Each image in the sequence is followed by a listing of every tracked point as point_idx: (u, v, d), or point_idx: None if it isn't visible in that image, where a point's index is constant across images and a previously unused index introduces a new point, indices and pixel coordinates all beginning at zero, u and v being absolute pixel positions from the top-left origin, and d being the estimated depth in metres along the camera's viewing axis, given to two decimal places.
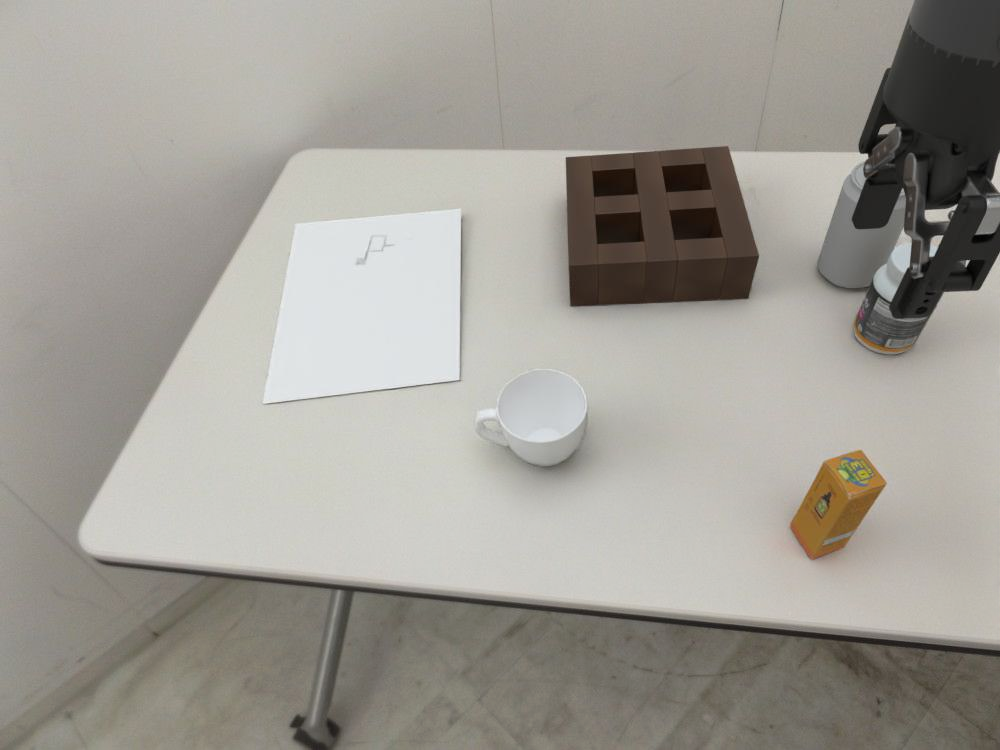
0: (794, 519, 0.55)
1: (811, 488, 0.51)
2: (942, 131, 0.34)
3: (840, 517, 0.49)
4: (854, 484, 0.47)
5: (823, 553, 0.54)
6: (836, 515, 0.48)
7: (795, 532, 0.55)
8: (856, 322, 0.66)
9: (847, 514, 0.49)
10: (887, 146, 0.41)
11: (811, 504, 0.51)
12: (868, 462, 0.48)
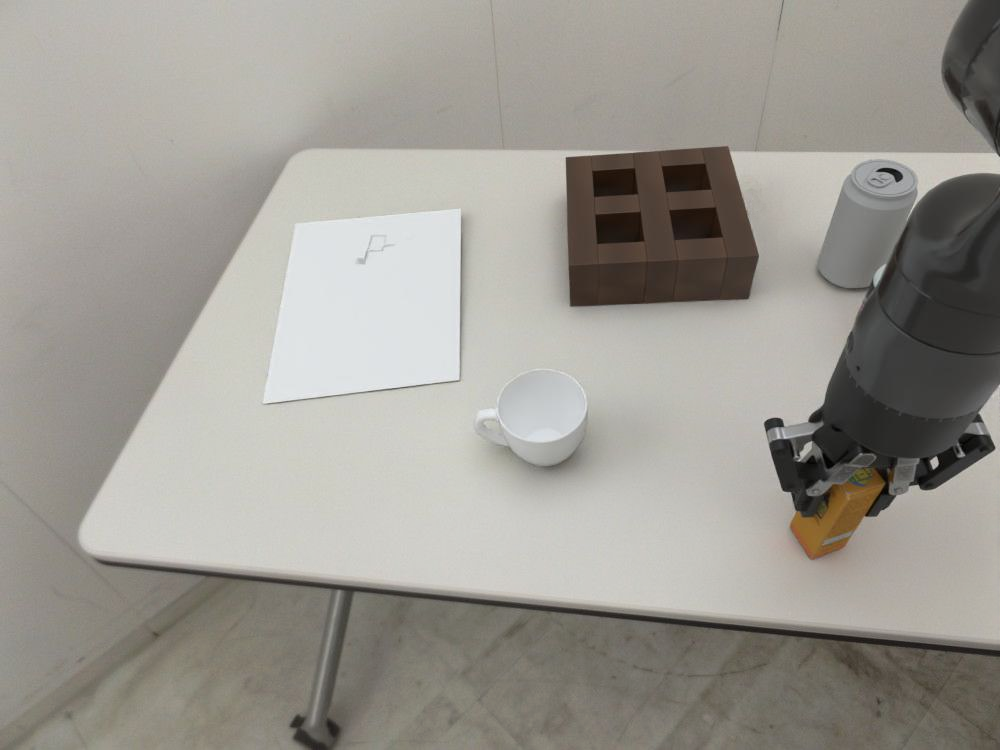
0: (794, 519, 0.55)
1: None
2: None
3: (839, 517, 0.49)
4: (852, 484, 0.47)
5: (823, 553, 0.54)
6: (835, 515, 0.48)
7: (795, 532, 0.55)
8: None
9: (846, 514, 0.49)
10: None
11: None
12: None
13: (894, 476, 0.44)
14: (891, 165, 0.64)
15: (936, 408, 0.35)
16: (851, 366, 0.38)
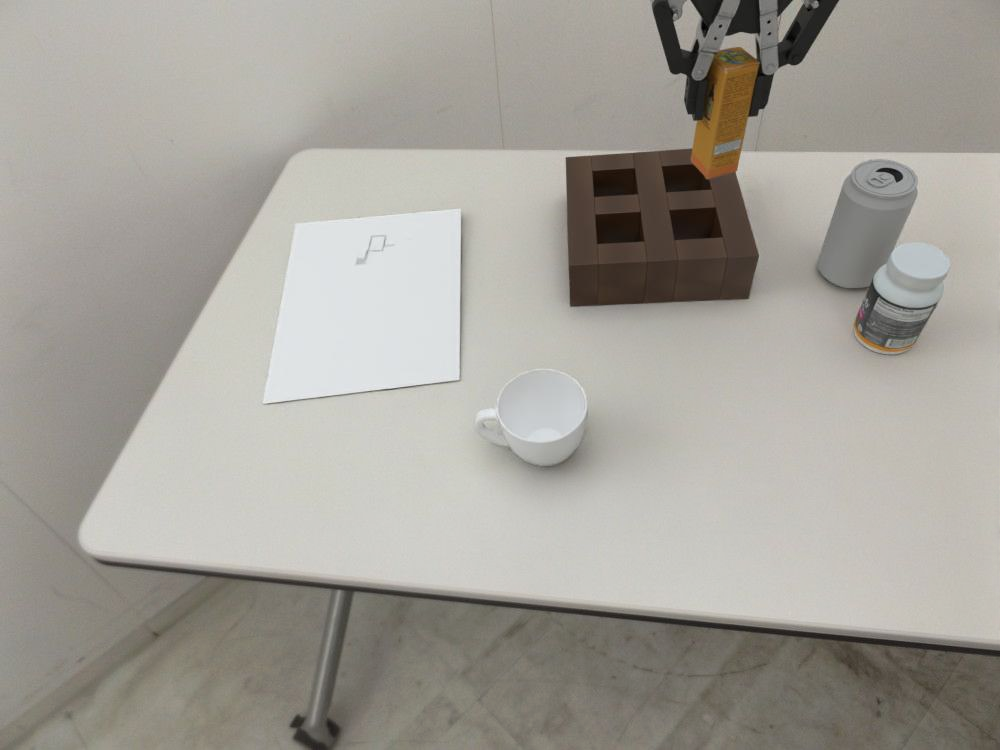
0: (693, 148, 0.61)
1: None
2: None
3: (723, 106, 0.55)
4: (730, 63, 0.53)
5: (717, 171, 0.60)
6: (718, 103, 0.55)
7: (694, 162, 0.61)
8: (856, 322, 0.66)
9: (729, 103, 0.55)
10: None
11: None
12: (745, 52, 0.54)
13: (761, 35, 0.51)
14: (891, 165, 0.64)
15: None
16: None
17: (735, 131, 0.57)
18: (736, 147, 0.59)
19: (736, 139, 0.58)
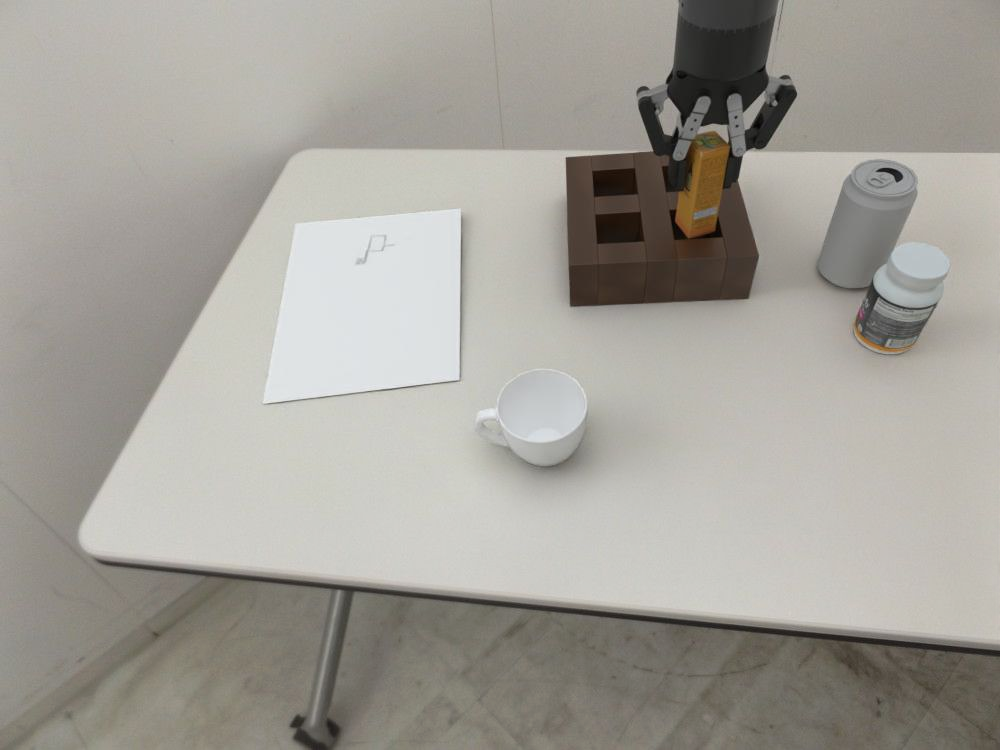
0: None
1: None
2: None
3: (699, 181, 0.65)
4: (705, 147, 0.63)
5: (697, 232, 0.70)
6: (696, 178, 0.65)
7: (678, 223, 0.71)
8: (856, 322, 0.66)
9: (705, 179, 0.65)
10: None
11: None
12: (719, 136, 0.64)
13: (730, 127, 0.60)
14: (891, 165, 0.64)
15: (729, 17, 0.51)
16: (680, 8, 0.54)
17: (711, 200, 0.67)
18: (713, 212, 0.68)
19: (712, 206, 0.68)
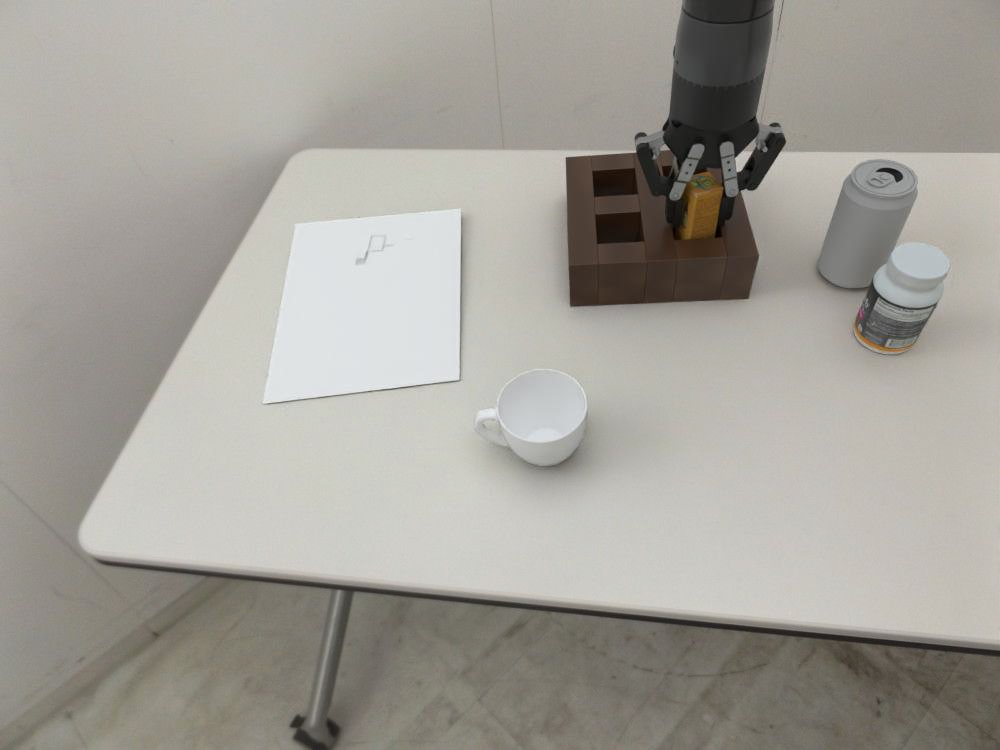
0: None
1: None
2: None
3: (695, 220, 0.68)
4: (700, 188, 0.67)
5: None
6: (691, 217, 0.68)
7: None
8: (856, 322, 0.66)
9: (700, 217, 0.68)
10: None
11: None
12: (713, 177, 0.68)
13: (723, 171, 0.64)
14: (891, 165, 0.64)
15: (720, 76, 0.55)
16: (675, 64, 0.58)
17: (706, 236, 0.71)
18: None
19: None
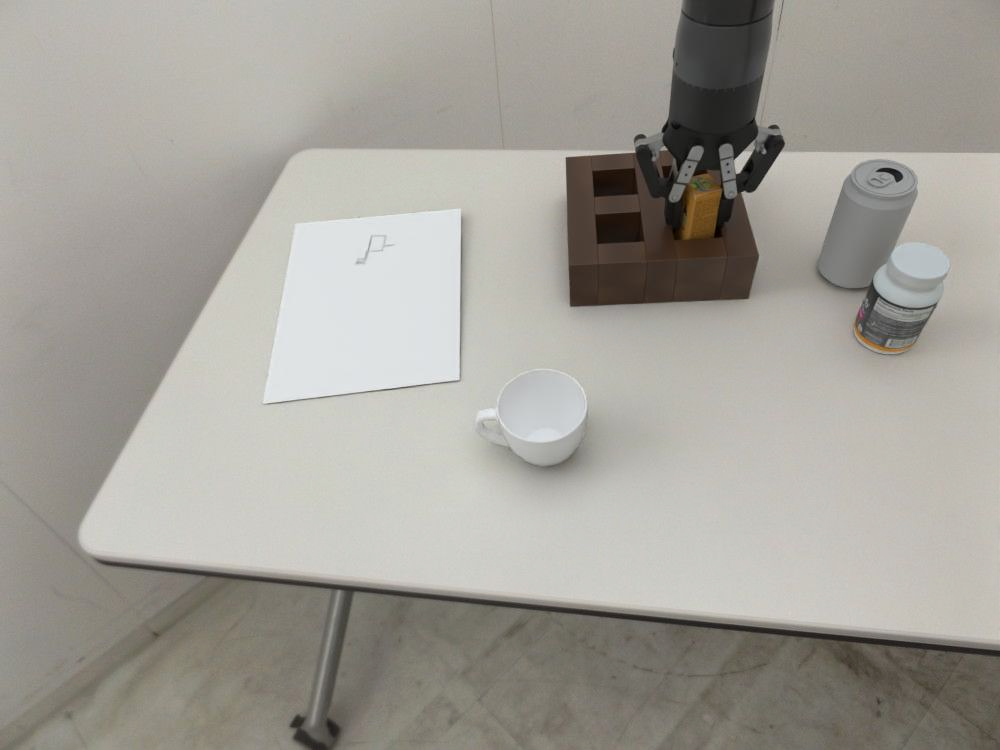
0: None
1: None
2: None
3: (694, 221, 0.69)
4: (699, 190, 0.67)
5: None
6: (690, 219, 0.68)
7: None
8: (856, 322, 0.66)
9: (699, 219, 0.68)
10: None
11: None
12: (712, 179, 0.68)
13: (722, 173, 0.64)
14: (891, 165, 0.64)
15: (720, 78, 0.55)
16: (674, 66, 0.58)
17: None
18: None
19: None
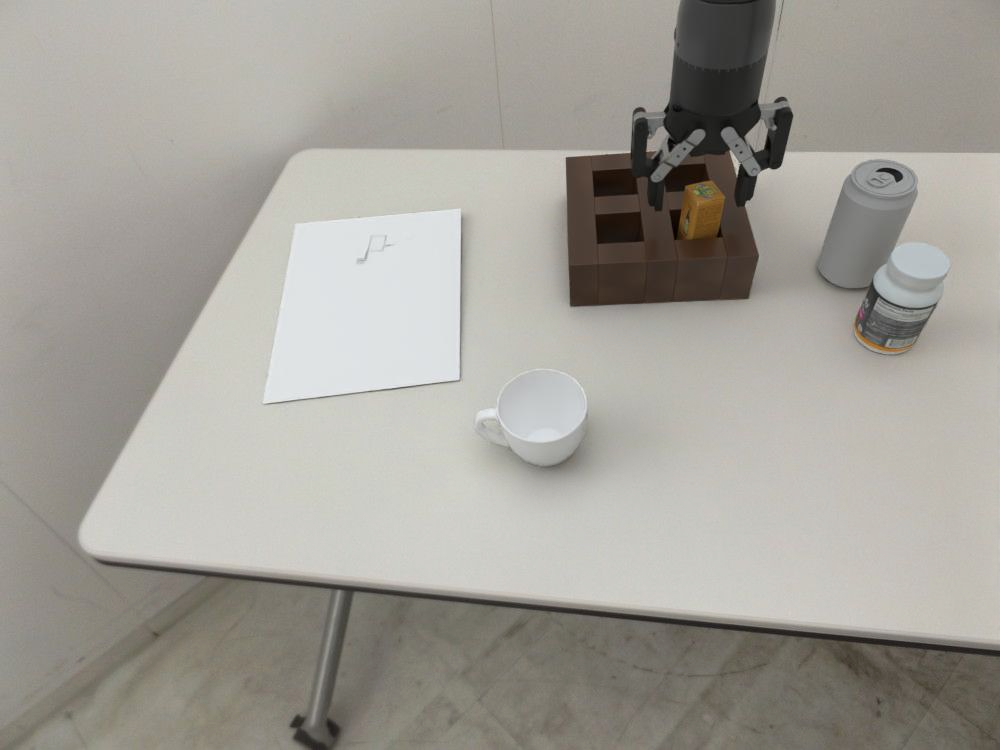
0: None
1: None
2: None
3: (696, 228, 0.69)
4: (702, 197, 0.67)
5: None
6: (692, 225, 0.69)
7: None
8: (856, 322, 0.66)
9: (701, 225, 0.69)
10: None
11: (681, 229, 0.72)
12: (715, 186, 0.68)
13: None
14: (891, 165, 0.64)
15: (722, 58, 0.54)
16: (675, 47, 0.57)
17: None
18: None
19: None
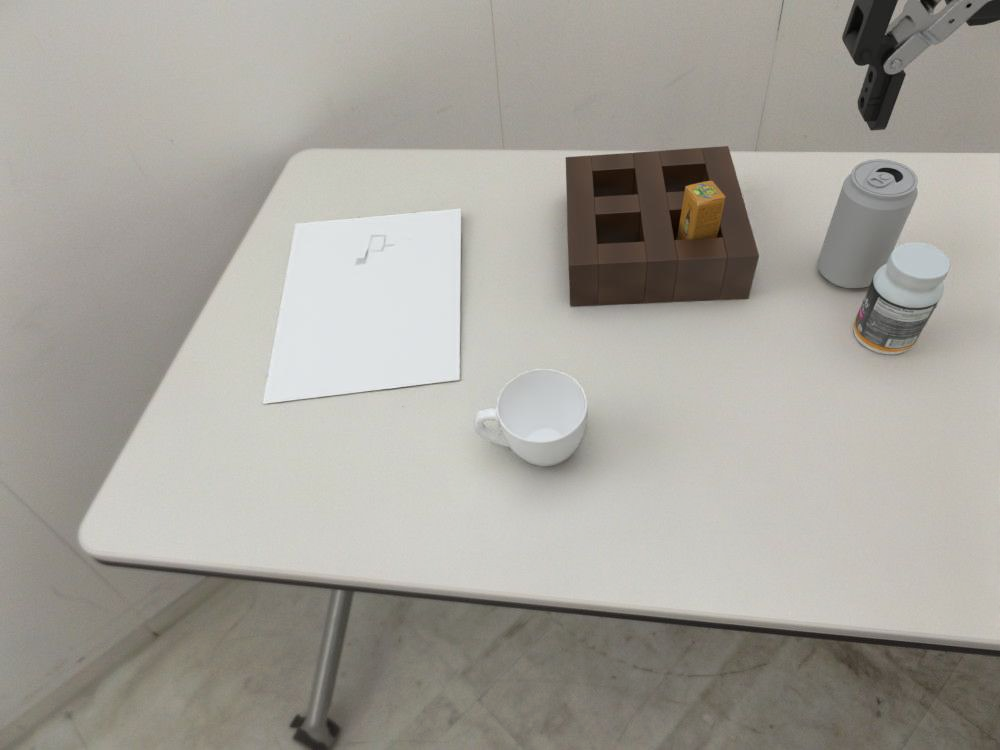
0: None
1: (681, 215, 0.71)
2: None
3: (696, 228, 0.69)
4: (702, 197, 0.67)
5: None
6: (693, 225, 0.69)
7: None
8: (856, 322, 0.66)
9: (701, 225, 0.69)
10: None
11: (681, 229, 0.72)
12: (715, 186, 0.68)
13: None
14: (891, 165, 0.64)
15: None
16: None
17: None
18: None
19: None
